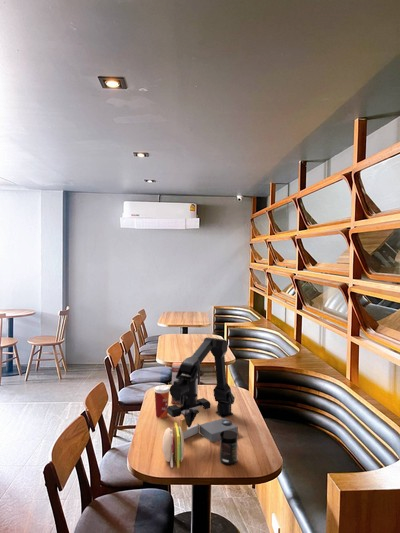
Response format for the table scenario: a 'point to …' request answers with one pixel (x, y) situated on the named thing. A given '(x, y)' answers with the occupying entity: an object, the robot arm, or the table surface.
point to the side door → (188, 429)
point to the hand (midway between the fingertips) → (188, 426)
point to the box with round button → (216, 429)
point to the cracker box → (174, 372)
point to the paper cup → (161, 400)
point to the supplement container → (228, 447)
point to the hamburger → (173, 445)
